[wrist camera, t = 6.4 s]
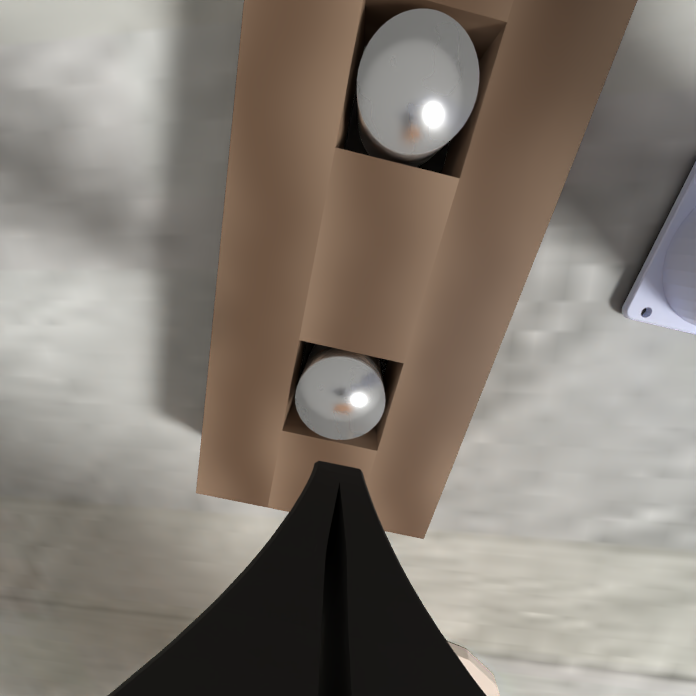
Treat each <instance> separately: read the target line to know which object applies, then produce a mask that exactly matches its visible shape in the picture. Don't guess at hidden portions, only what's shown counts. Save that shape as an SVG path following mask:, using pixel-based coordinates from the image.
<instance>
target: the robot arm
mask: <svg viewBox="0 0 696 696" xmlns="http://www.w3.org/2000/svg"><path fill="white" fill-rule="evenodd" d="M644 308H646V312H645V313H644V314H643V315H641V311H642V310H643V309H644ZM622 314H623V316H624V317H626V318H629V319H632V320H636V321H640V322H645V323H649V324H653V325H657V326H661V327H666V328H670V329H674V330H678V331H683V332H687V333H691V334H695V335H696V162H695V164H694V166H693V168H692V170H691V172H690V174H689V176H688V178H687V180H686V182H685V184H684V186H683V187H682V189H681V191H680V193H679V195H678V197H677V199H676V201H675V203H674V205H673V207H672V209H671V211H670V213H669V215H668V217H667V219H666V221H665V223H664V225H663V227H662V229H661V231H660V233H659V235H658V237H657V239H656V241H655V243H654V245H653V247H652V249H651V251H650V253H649V255H648V257H647V259H646V261H645V263H644V265H643V267H642V269H641V271H640V273H639V275H638V277H637V279H636V281H635V283H634V285H633V287H632V289H631V291H630V293H629V295H628V297H627V299H626V301H625V303H624V305H623V307H622ZM108 696H487V695H486V694H485V693H484V692H483V690H482V689H481V688H480V686H479V685H478V684H477V683H476V681H475V680H474V679H473V677H472V676H471V675H470V673H469V672H468V670H467V669H466V667H465V666H464V665H463V663H462V662H461V660H460V659H459V658H458V656H457V655H456V653H455V652H454V650H453V649H452V648H451V646H450V645H449V643H448V642H447V641H446V639H445V638H444V636H443V635H442V633H441V632H440V631H439V629H438V627H437V626H436V624H435V623H434V621H433V620H432V618H431V616H430V615H429V613H428V612H427V610H426V608H425V607H424V605H423V604H422V602H421V600H420V599H419V597H418V595H417V594H416V592H415V590H414V588H413V587H412V585H411V583H410V581H409V580H408V578H407V576H406V574H405V572H404V570H403V568H402V567H401V565H400V563H399V561H398V559H397V557H396V555H395V553H394V551H393V549H392V547H391V544H390V542H389V540H388V538H387V536H386V534H385V531H384V529H383V527H382V524H381V522H380V520H379V517H378V515H377V513H376V510H375V507H374V505H373V502H372V499H371V497H370V494H369V491H368V488H367V485H366V482H365V479H364V475H363V472H362V471H361V469H358V468H353V467H348V466H344V465H339V464H334V463H329V462H324V461H317V462H316V463H314V467H313V470H312V473H311V475H310V478H309V480H308V482H307V484H306V485H305V487H304V489H303V491H302V493H301V494H300V496H299V498H298V499H297V501H296V503H295V504H294V506H293V507H292V509H291V511H290V512H289V514H288V515H287V516H286V518H285V519H284V521H283V522H282V523H281V525H280V526H279V527H278V529H277V530H276V532H275V533H274V534H273V536H272V537H271V538H270V540H269V541H268V542H267V543H266V545H265V546H264V547H263V548H262V550H261V551H260V552H259V553H258V555H257V556H256V557H255V558H254V559H253V560H252V562H251V563H250V564H249V565H248V566H247V567H246V568H245V570H244V571H243V572H242V573H241V574H240V575H239V576H238V577H237V578H236V579H235V580H234V581H233V583H232V584H231V585H230V586H229V587H228V588H227V589H226V590H225V591H224V592H223V593H222V594H221V595H220V596H219V597H218V598H217V599H216V600H215V601H214V602H213V603H212V604H211V605H210V606H209V607H208V608H207V609H206V610H205V611H204V612H203V613H202V614H201V615H200V616H199V617H198V618H197V619H195V620H194V621H193V622H192V623H191V624H190V625H189V626H188V627H187V628H186V629H185V630H184V631H183V632H182V633H181V634H179V635H178V636H177V637H176V638H175V639H174V640H173V641H172V642H171V643H170V644H169V645H167V646H166V647H165V648H164V649H163V650H162V651H161V652H160V653H158V654H157V655H156V656H155V657H154V658H152V659H151V660H150V661H149V662H148V663H146V664H145V665H144V666H143V667H142V668H140V669H139V670H138V671H137V672H136V673H134V674H133V675H132V676H131V677H130V678H128V679H127V680H126V681H125V682H124V683H122V684H121V685H120V686H119V687H118V688H116V689H115V690H114V691H113V692H112V693H110V694H109V695H108Z"/></svg>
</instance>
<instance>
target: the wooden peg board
mask: <svg viewBox="0 0 696 696" xmlns="http://www.w3.org/2000/svg"><path fill="white" fill-rule="evenodd" d="M636 2H637V0H244V6H243V16H242V27H241V37H240V47H239V57H238V68H237V78H236V88H235V98H234V109H233V119H232V129H231V140H230V150H229V160H228V170H227V181H226V191H225V201H224V211H223V222H222V232H221V242H220V252H219V263H218V273H217V283H216V294H215V304H214V314H213V324H212V335H211V345H210V355H209V365H208V376H207V386H206V396H205V406H204V417H203V427H202V437H201V448H200V458H199V468H198V478H197V489H196V493H199V494H204V495H208V496H213V497H218V498H223V499H228V500H233V501H238V502H243V503H248V504H253V505H258V506H263V507H268V508H273V509H278V510H283V511H288V512H290V511H291V509H292V507H293V506H294V504H295V503H296V501H297V499H298V498H299V496H300V494H301V493H302V491H303V489H304V487H305V485H306V484H307V482H308V480H309V478H310V475H311V473H312V470H313V467H314V463H316V462H317V461H324V462H329V463H334V464H339V465H344V466H348V467H353V468H358V469H361V471H362V472H363V475H364V479H365V482H366V485H367V488H368V491H369V494H370V497H371V499H372V502H373V505H374V507H375V510H376V513H377V515H378V517H379V520H380V522H381V524H382V527H383V529H384V531H387V532H392V533H397V534H402V535H407V536H412V537H417V538H422V539H424V537H425V534H426V532H427V529H428V527H429V524H430V522H431V519H432V517H433V514H434V512H435V509H436V507H437V504H438V501H439V499H440V496H441V494H442V491H443V489H444V486H445V484H446V481H447V479H448V476H449V474H450V471H451V469H452V466H453V464H454V461H455V459H456V456H457V454H458V451H459V449H460V446H461V443H462V441H463V438H464V436H465V433H466V431H467V428H468V426H469V423H470V421H471V418H472V416H473V413H474V411H475V408H476V406H477V403H478V401H479V398H480V396H481V393H482V391H483V388H484V386H485V383H486V380H487V378H488V375H489V373H490V370H491V368H492V365H493V363H494V360H495V358H496V355H497V353H498V350H499V348H500V345H501V343H502V340H503V338H504V335H505V333H506V330H507V328H508V325H509V322H510V320H511V317H512V315H513V312H514V310H515V307H516V305H517V302H518V300H519V297H520V295H521V292H522V290H523V287H524V285H525V282H526V280H527V277H528V275H529V272H530V270H531V267H532V265H533V262H534V259H535V257H536V254H537V252H538V249H539V247H540V244H541V242H542V239H543V237H544V234H545V232H546V229H547V227H548V224H549V222H550V219H551V217H552V214H553V212H554V209H555V207H556V204H557V201H558V199H559V196H560V194H561V191H562V189H563V186H564V184H565V181H566V179H567V176H568V174H569V171H570V169H571V166H572V164H573V161H574V159H575V156H576V154H577V151H578V149H579V146H580V143H581V141H582V138H583V136H584V133H585V131H586V128H587V126H588V123H589V121H590V118H591V116H592V113H593V111H594V108H595V106H596V103H597V101H598V98H599V96H600V93H601V91H602V88H603V86H604V83H605V80H606V78H607V75H608V73H609V70H610V68H611V65H612V63H613V60H614V58H615V55H616V53H617V50H618V48H619V45H620V43H621V40H622V38H623V35H624V33H625V30H626V28H627V25H628V22H629V20H630V17H631V15H632V12H633V10H634V7H635V5H636ZM419 8H420V9H433V10H437V11H440V12H443V13H445V14H447V15H448V16H450V17H452V18H453V19H454V20H456V21H457V22H458V23H459V24H460V25H461V26H462V27H463V28H464V30H465V31H466V32H467V34H468V35H469V37H470V39H471V41H472V43H473V45H474V48H475V51H476V54H477V58H478V63H479V87H478V93H477V98H476V101H475V104H474V107H473V110H472V112H471V114H470V116H469V118H468V119H467V121H466V123H465V124H464V126H463V127H462V128H461V129H460V131H459V132H458V133H457V134H456V135H455V136H454V137H453V138H452V139H451V141H450V145H449V148H448V152H447V155H446V159H445V162H444V166H443V169H442V173H441V174H440V173H436V172H432V171H428V170H424V169H420V168H416V167H412V166H408V165H404V164H400V163H396V162H392V161H388V160H384V159H380V158H376V157H372V156H368V155H364V154H360V153H356V152H352V151H348V150H344V148H345V143H346V137H347V132H348V127H349V122H350V117H351V112H352V107H353V102H354V97H355V91H356V86H357V76H358V69H359V65H360V62H361V59H362V56H363V51H364V46H367V45H368V43H369V41H370V40H371V38H372V37H373V35H374V34H375V33H376V32H377V31H378V29H379V28H380V27H381V26H382V25H384V24H385V23H386V22H387V21H388V20H390V19H391V18H393V17H394V16H396V15H398V14H400V13H402V12H405V11H408V10H413V9H419ZM306 342H310V343H315V344H319V345H324V346H328V347H333V348H337V349H342V350H346V351H350V352H355V353H359V354H364V355H368V356H373V357H377V358H382V359H386V360H388V362H387V366H386V369H385V373H384V376H383V385H384V392H385V408H384V412H383V414H382V417H381V418H380V420H379V422H378V423H377V424H376V425H375V426H374V427H373V428H372V429H371V430H370V431H369V432H367V433H365V434H364V435H361V436H359V437H356V438H353V439H347V440H335V439H330V438H326V437H323V436H321V435H319V434H317V433H315V432H314V431H312V430H311V429H310V428H309V427H307V426H306V424H305V423H304V422H303V421H302V419H301V418H300V416H299V414H298V412H297V408H296V404H295V394H296V389H297V386H298V383H299V377H300V372H301V367H302V362H303V357H304V352H305V347H306Z"/></svg>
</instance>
